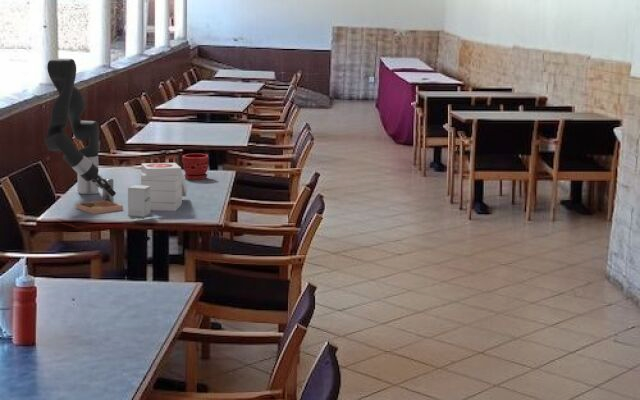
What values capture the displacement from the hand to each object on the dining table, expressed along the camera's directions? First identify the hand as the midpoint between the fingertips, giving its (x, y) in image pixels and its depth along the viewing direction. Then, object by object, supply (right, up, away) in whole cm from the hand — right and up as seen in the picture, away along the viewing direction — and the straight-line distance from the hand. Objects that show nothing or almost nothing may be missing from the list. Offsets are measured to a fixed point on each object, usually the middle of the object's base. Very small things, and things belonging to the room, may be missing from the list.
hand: (112, 193), depth 436 cm
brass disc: (-3, -7, -17) cm, 19 cm away
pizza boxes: (+21, -5, +8) cm, 23 cm away
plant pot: (+27, +8, +76) cm, 80 cm away
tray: (-3, -8, -12) cm, 14 cm away
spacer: (-2, -5, 0) cm, 5 cm away
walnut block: (-8, -6, -13) cm, 16 cm away
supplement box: (+15, -10, -19) cm, 27 cm away
